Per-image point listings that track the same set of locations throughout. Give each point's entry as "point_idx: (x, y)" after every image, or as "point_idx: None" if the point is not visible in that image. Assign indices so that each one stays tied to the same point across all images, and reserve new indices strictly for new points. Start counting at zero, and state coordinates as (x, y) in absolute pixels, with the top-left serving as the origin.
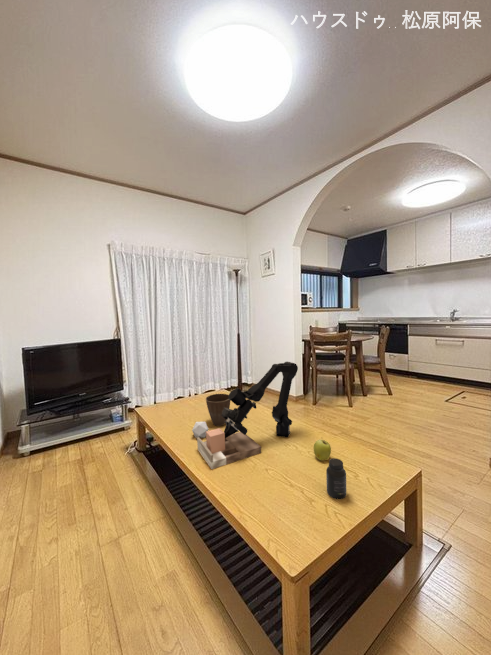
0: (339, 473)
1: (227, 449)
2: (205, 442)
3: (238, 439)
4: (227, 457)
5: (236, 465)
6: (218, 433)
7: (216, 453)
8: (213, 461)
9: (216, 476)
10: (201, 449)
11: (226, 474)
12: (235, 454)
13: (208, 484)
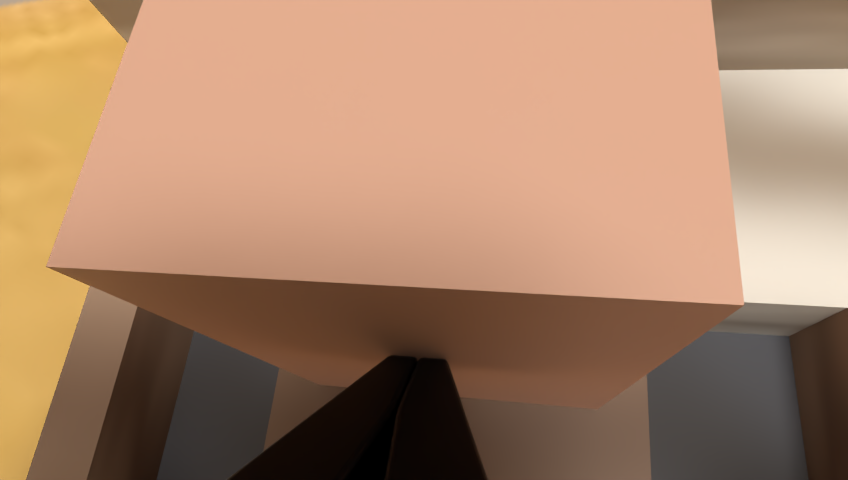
0: None
1: (292, 425)
2: (845, 171)
3: None
4: (91, 292)
5: (38, 406)
6: (210, 35)
7: None
8: None
9: (74, 109)
10: None
11: (13, 207)
12: (42, 461)
13: (45, 15)
